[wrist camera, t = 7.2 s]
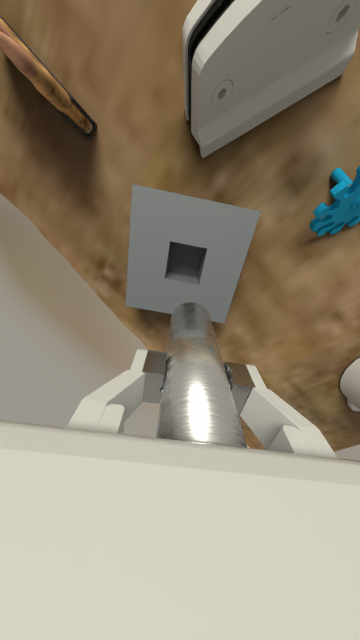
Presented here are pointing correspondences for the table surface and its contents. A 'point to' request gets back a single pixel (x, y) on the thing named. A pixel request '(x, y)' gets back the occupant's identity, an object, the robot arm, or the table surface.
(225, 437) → the steel pin
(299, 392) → the table surface
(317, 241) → the table surface
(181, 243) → the pin block
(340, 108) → the table surface
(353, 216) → the gear
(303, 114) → the table surface
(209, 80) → the hinge
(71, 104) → the ammunition clip
